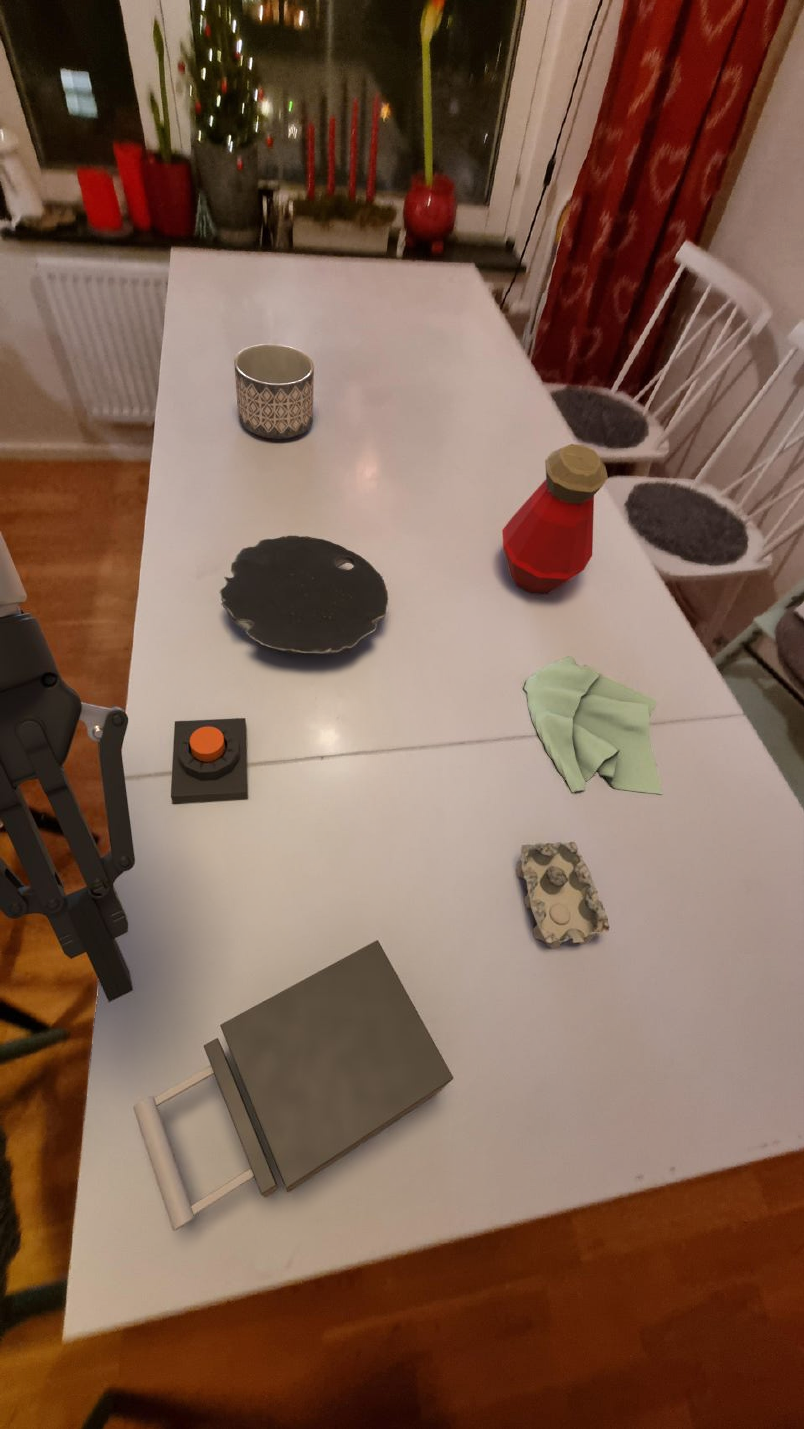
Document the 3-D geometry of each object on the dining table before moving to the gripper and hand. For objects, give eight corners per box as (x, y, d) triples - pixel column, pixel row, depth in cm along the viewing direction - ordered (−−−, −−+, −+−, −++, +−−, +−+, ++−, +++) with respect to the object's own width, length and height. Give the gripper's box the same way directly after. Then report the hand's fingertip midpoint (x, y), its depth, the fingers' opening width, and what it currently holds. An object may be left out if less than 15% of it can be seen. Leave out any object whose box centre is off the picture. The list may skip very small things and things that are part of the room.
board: (352, 549, 104) (354, 522, 100) (410, 656, 93) (415, 629, 89) (204, 577, 97) (200, 548, 93) (248, 696, 86) (245, 669, 82)
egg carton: (599, 946, 72) (614, 933, 69) (531, 951, 71) (542, 939, 68) (573, 851, 79) (586, 835, 75) (510, 855, 77) (519, 839, 74)
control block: (247, 799, 77) (245, 783, 75) (172, 804, 76) (168, 788, 73) (246, 725, 83) (244, 708, 80) (176, 729, 82) (172, 711, 79)
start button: (225, 761, 76) (223, 752, 75) (191, 763, 76) (189, 754, 74) (225, 734, 78) (223, 725, 77) (192, 736, 78) (190, 727, 76)
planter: (262, 395, 125) (260, 336, 117) (325, 418, 123) (327, 359, 115) (224, 428, 118) (218, 368, 110) (290, 453, 116) (289, 393, 108)
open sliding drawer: (188, 1247, 53) (176, 1250, 48) (140, 1101, 59) (123, 1088, 53) (408, 1103, 61) (419, 1091, 56) (347, 985, 66) (352, 963, 61)
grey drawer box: (287, 1192, 57) (286, 1188, 50) (228, 1046, 63) (219, 1024, 56) (436, 1094, 62) (454, 1078, 56) (369, 967, 68) (377, 939, 61)
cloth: (556, 643, 97) (561, 631, 96) (700, 726, 92) (708, 716, 90) (481, 735, 87) (485, 724, 85) (638, 836, 81) (647, 826, 79)
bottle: (502, 530, 111) (537, 413, 95) (584, 553, 110) (634, 439, 94) (482, 594, 102) (517, 477, 85) (572, 620, 101) (624, 506, 85)
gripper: (80, 596, 44) (207, 917, 50) (-159, 662, 39) (13, 1009, 45) (83, 589, 37) (230, 961, 43) (-206, 668, 32) (4, 1076, 38)
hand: (119, 985), depth 44 cm, fingers closed
